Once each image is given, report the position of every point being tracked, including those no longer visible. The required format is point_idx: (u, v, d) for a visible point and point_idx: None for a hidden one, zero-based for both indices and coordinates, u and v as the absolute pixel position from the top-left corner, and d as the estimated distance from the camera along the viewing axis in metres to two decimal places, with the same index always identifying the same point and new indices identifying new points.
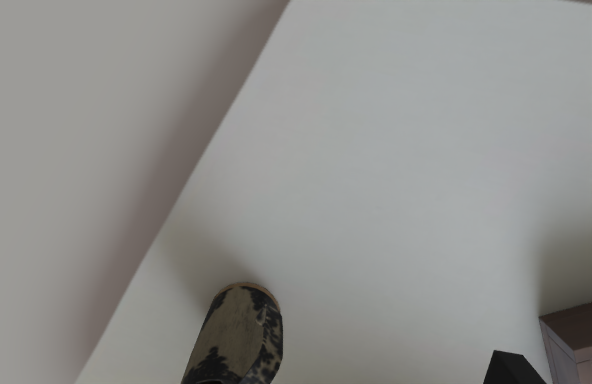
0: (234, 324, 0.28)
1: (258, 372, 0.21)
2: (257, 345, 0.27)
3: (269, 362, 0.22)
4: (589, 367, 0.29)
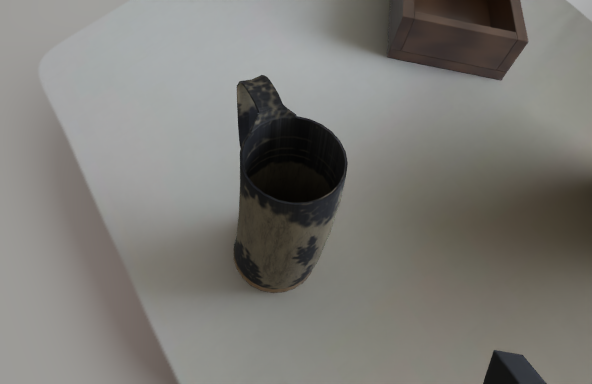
0: None
1: (252, 83, 0.21)
2: (272, 171, 0.25)
3: (252, 79, 0.22)
4: (420, 13, 0.38)
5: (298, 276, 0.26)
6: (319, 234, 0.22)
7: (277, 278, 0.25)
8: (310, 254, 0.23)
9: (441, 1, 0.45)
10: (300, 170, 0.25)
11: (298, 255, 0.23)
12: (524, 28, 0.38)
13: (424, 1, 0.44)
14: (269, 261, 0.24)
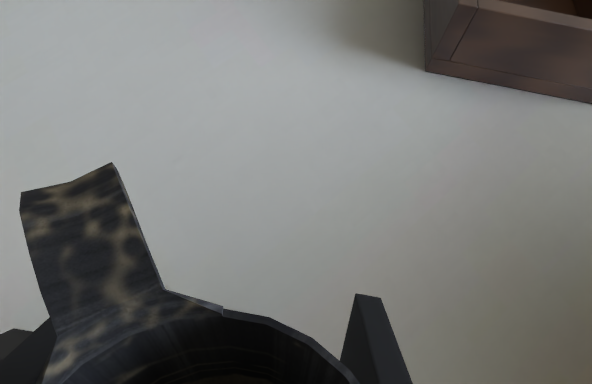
0: None
1: (57, 202, 0.06)
2: None
3: (75, 180, 0.06)
4: None
5: None
6: None
7: None
8: None
9: None
10: None
11: None
12: None
13: None
14: None
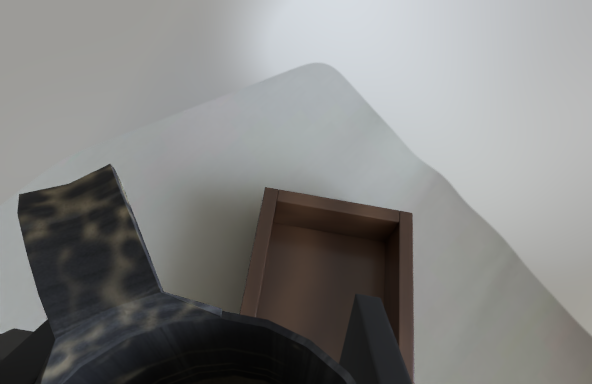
0: None
1: (55, 205, 0.06)
2: None
3: (74, 182, 0.06)
4: None
5: None
6: None
7: None
8: None
9: (319, 271, 0.33)
10: None
11: None
12: (411, 374, 0.26)
13: (295, 274, 0.32)
14: None
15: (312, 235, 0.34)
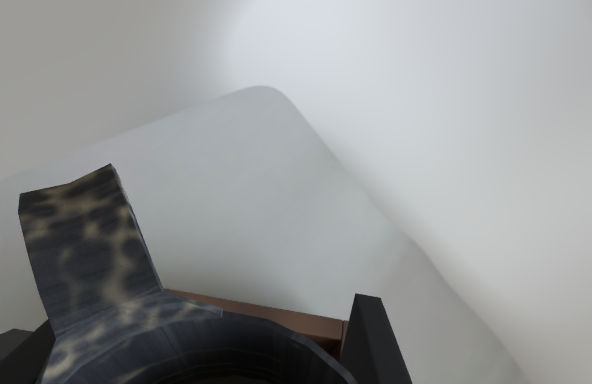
0: None
1: (57, 204, 0.06)
2: None
3: (75, 181, 0.06)
4: None
5: None
6: None
7: None
8: None
9: None
10: None
11: None
12: None
13: None
14: None
15: None
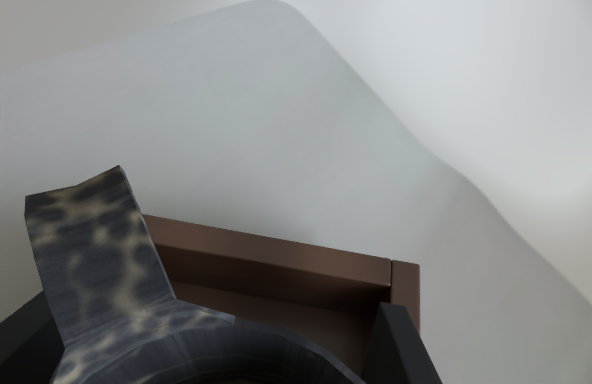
0: None
1: (63, 207, 0.06)
2: None
3: (81, 184, 0.06)
4: None
5: None
6: None
7: None
8: None
9: None
10: None
11: None
12: None
13: None
14: None
15: (216, 302, 0.17)
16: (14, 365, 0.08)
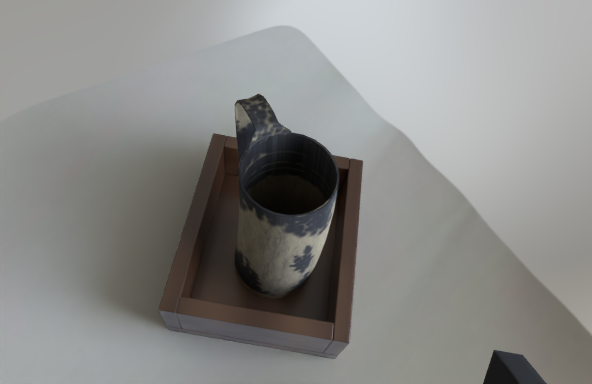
0: None
1: (249, 102, 0.22)
2: (270, 183, 0.26)
3: (249, 98, 0.23)
4: (189, 301, 0.25)
5: (296, 283, 0.27)
6: (314, 243, 0.23)
7: (275, 285, 0.27)
8: (306, 262, 0.25)
9: None
10: (296, 182, 0.26)
11: (295, 263, 0.24)
12: (349, 313, 0.26)
13: None
14: (267, 269, 0.25)
15: None
16: None
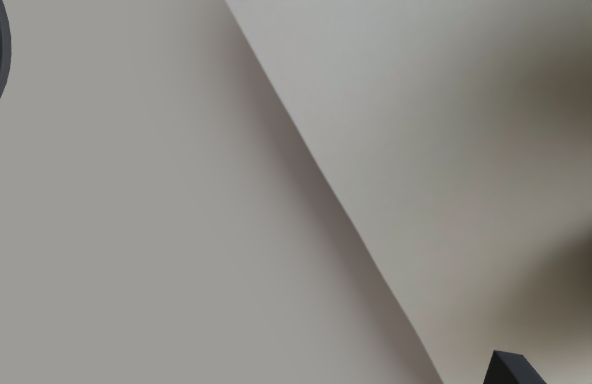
0: None
1: None
2: None
3: None
4: None
5: None
6: None
7: None
8: None
9: None
10: None
11: None
12: None
13: None
14: None
15: None
16: None
